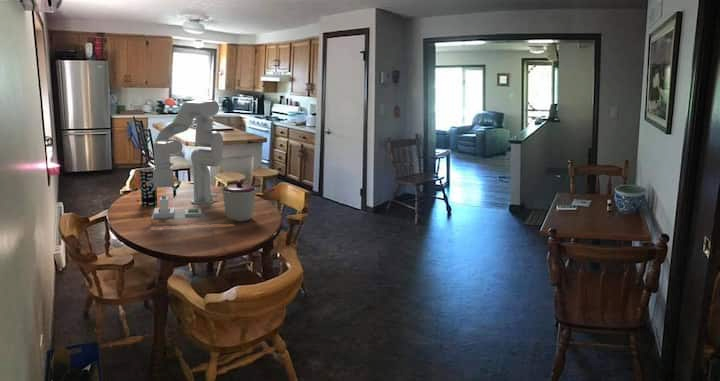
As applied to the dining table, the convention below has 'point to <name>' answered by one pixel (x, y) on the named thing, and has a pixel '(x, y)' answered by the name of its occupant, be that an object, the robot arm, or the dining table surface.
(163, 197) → the plug
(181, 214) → the patch panel
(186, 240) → the dining table surface
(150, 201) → the white-spotted black cylinder
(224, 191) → the canister
